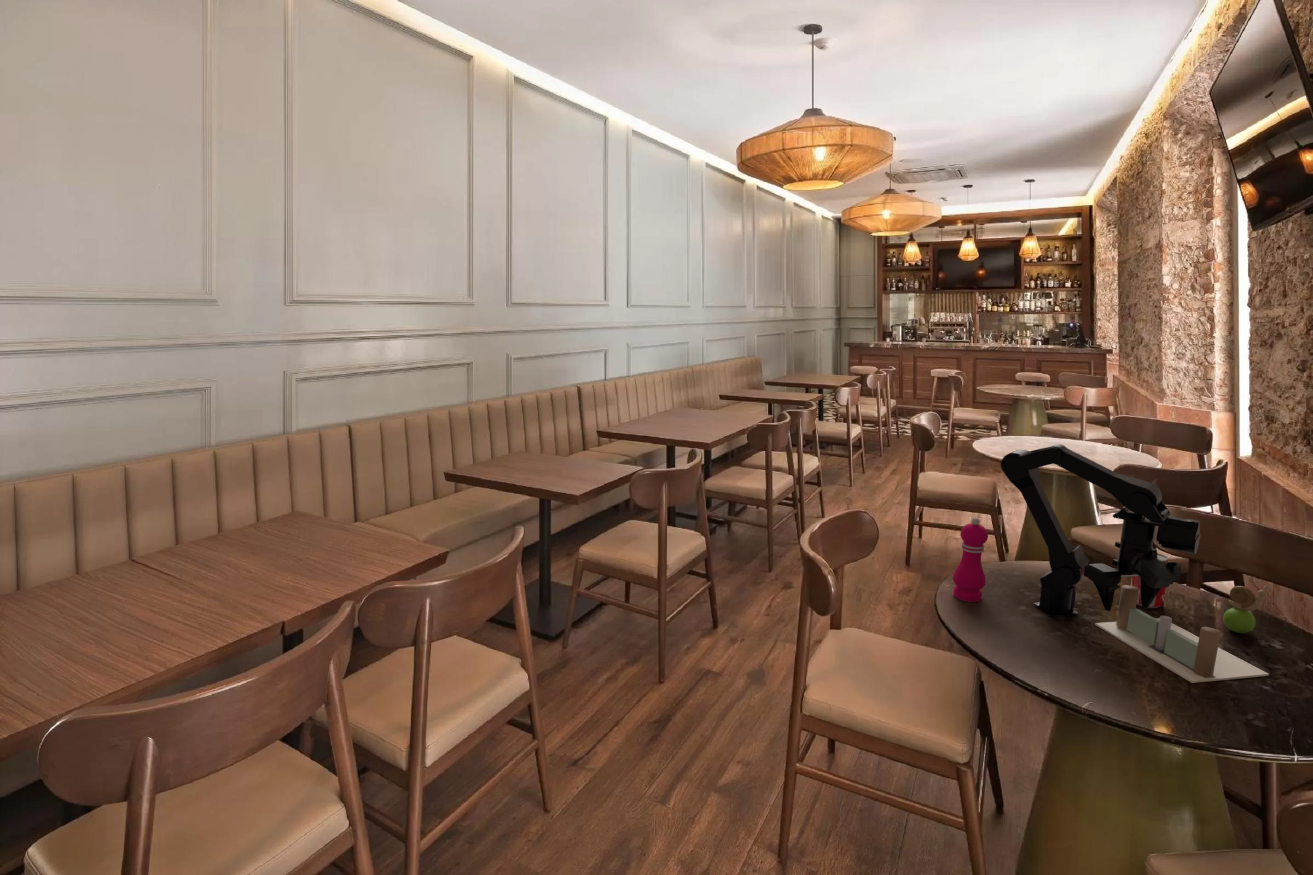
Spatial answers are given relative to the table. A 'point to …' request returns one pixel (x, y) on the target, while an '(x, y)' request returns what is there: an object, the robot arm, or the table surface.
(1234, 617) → the snail figurine
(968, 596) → the pepper mill
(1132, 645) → the card
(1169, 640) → the fence fixed
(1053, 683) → the table surface
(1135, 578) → the soda can
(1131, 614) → the fence gate
